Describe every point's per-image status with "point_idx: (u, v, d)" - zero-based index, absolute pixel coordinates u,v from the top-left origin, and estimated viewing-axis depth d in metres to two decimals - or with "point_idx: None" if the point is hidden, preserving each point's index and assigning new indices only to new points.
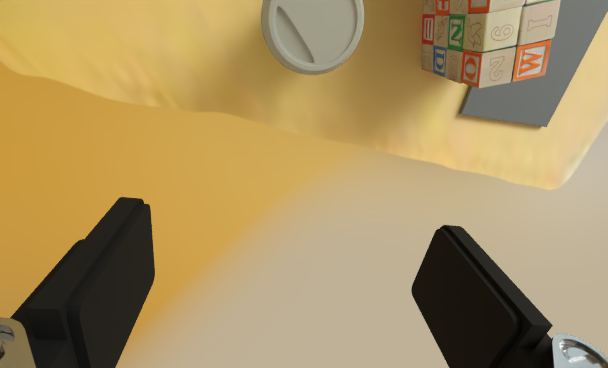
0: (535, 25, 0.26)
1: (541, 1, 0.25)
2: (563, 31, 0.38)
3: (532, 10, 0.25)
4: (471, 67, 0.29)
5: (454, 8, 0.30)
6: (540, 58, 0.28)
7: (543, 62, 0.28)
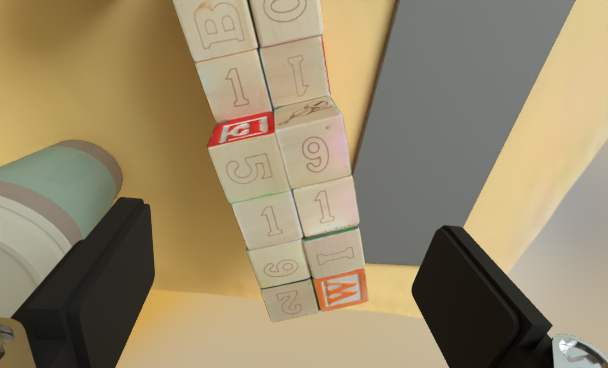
0: (330, 258, 0.17)
1: (329, 232, 0.16)
2: (446, 172, 0.29)
3: (317, 244, 0.16)
4: None
5: None
6: (355, 285, 0.19)
7: (361, 290, 0.19)
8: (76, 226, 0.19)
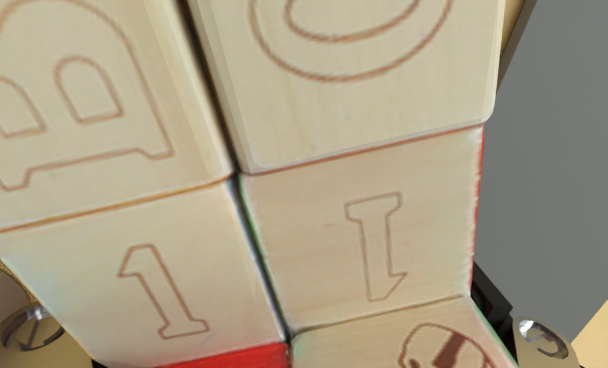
0: None
1: None
2: (558, 281, 0.18)
3: None
4: None
5: None
6: None
7: None
8: None
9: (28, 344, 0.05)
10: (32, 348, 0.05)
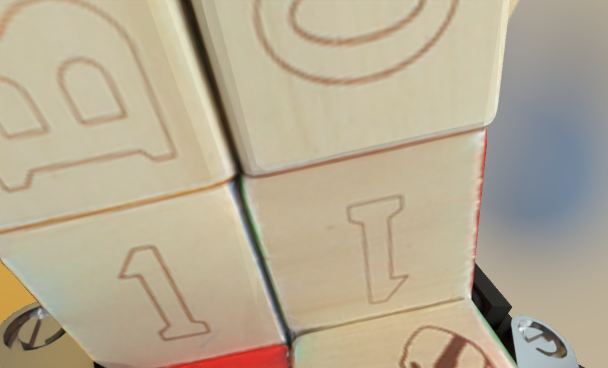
0: None
1: None
2: None
3: None
4: None
5: None
6: None
7: None
8: None
9: (30, 343, 0.05)
10: (34, 347, 0.05)
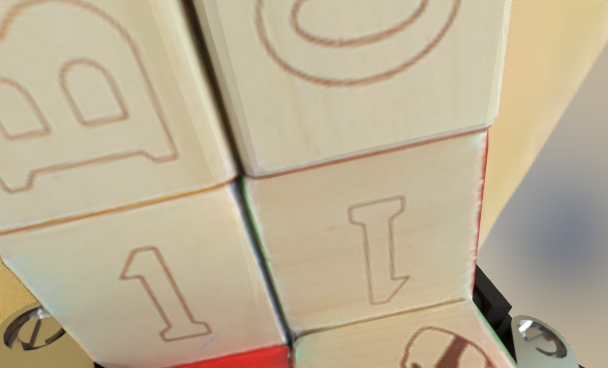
0: None
1: None
2: None
3: None
4: None
5: None
6: None
7: None
8: None
9: (30, 343, 0.05)
10: (34, 348, 0.05)
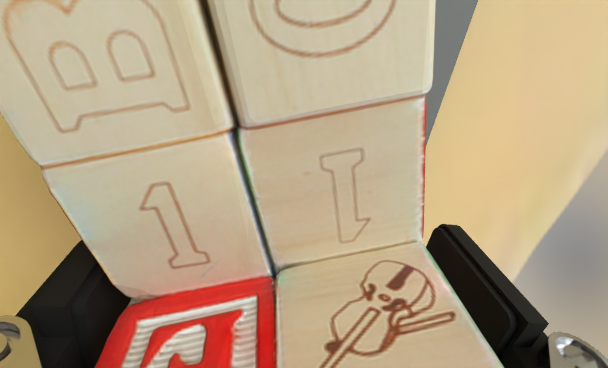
0: None
1: None
2: None
3: None
4: None
5: None
6: None
7: None
8: None
9: None
10: None
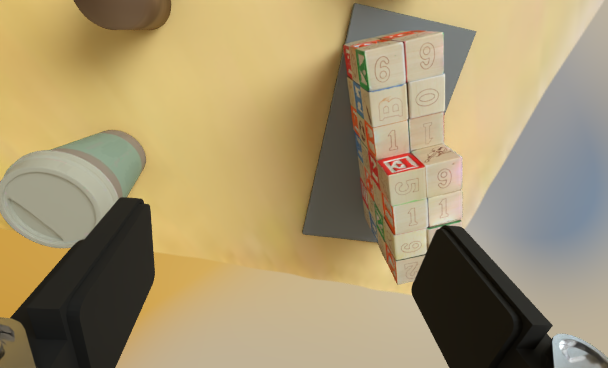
0: None
1: (444, 223, 0.27)
2: None
3: None
4: (391, 261, 0.31)
5: (376, 201, 0.32)
6: None
7: None
8: (119, 184, 0.28)
9: None
10: None
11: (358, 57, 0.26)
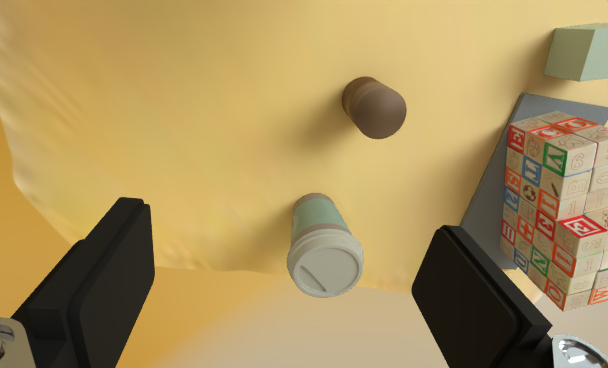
0: (606, 279, 0.36)
1: None
2: None
3: (604, 273, 0.36)
4: (555, 293, 0.39)
5: (537, 246, 0.40)
6: None
7: None
8: None
9: None
10: None
11: (548, 147, 0.34)
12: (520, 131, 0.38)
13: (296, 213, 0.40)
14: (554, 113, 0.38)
